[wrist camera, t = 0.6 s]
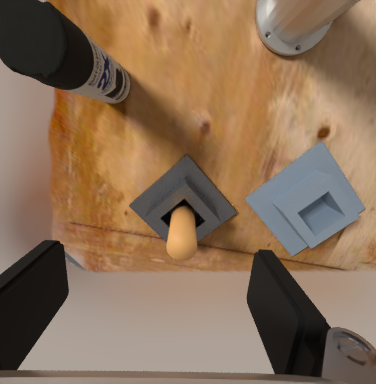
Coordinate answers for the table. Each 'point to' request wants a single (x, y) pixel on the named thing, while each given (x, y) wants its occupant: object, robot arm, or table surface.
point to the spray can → (58, 52)
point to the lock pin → (182, 232)
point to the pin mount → (177, 191)
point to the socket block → (307, 201)
